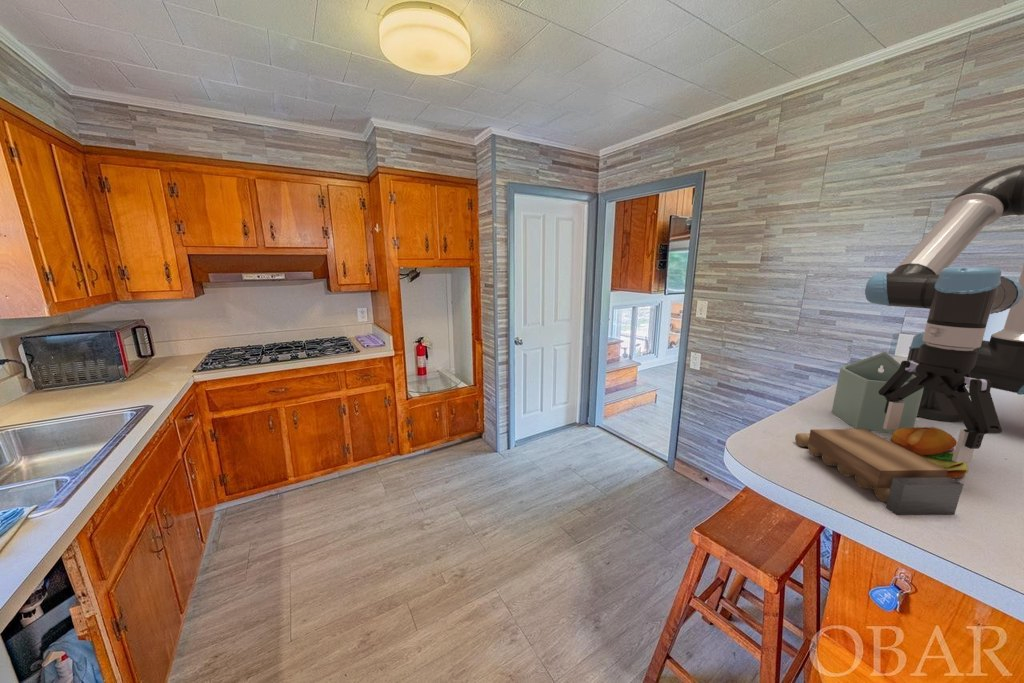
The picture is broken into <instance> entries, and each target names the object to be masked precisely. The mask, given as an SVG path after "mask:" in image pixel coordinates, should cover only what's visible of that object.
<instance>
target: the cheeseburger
mask: <svg viewBox="0 0 1024 683" xmlns="http://www.w3.org/2000/svg"><path fill="white" fill-rule="evenodd" d="M890 442H892V443H894V444H896V445H898V446H900V447H902V448H904V449H907V450H909V451H911V452H913V453H915V454H917V455H919V456H921V457H923V458H925V459H927V460H929V461H931V462H933V463H935V464H937V465H939V466H941V467H943V468H945V469H947V470H948V472H947V475H946V477H950V478H952V479H954V478H961V477H963V476H965V475H966V474H968V473H969V468H968V466H967V462H955V461H953V460H952V457H953V454H954V451H955V447H956V444H957V441H956V438H955V437H954V436H953V435H951V434H950V433H949V432H947V431H946V430H943V429H941V428H938V427H933V426H931V427H930V426H929V427H928V426H927V427H926V426H923V427H921V426H920V427H917V426H916V427H914V428H901V429H898V430H896V431H894V433H892V435H891V436H890Z"/></svg>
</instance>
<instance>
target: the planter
mask: <svg viewBox="0 0 1024 683" xmlns="http://www.w3.org/2000/svg"><path fill="white" fill-rule="evenodd" d="M900 365H901V363H899V362H898V360H896V359H894V358H893V356H891V355H890V354H889V353H887V352H886V351H883V352H880V353H877V354H874V355H871V356H869V357H866V358H863V359H860V360H857V361H854V362H851V363H849V364H844V365H842V366H841V367H840V368H839V373H838V378H837V384H836V388H835V393H834V399H833V403H832V408H831V413H832V414H834V415H835V416H836V417H838V418H839V419H840V420H842V421H843V422H845V423H847V424H848V425H849V426H851V427H852V428H853V429H866V430H868V431H870V432H873V433H874V432H875V433H885V434H893V433H894V431H896V430H886V429H884V428H883V425H884V421H885V417H886V413H885V411H884V410H885V407H886V402H887V400H886V397H884V396H883V395H880V394H879V393H878V392H879V390H880V389H881V388H882V387H883V386H884V385H885V384H886V383H887V381H888V380H889V379H890V378H891V377H892V376H893V375H894V374H895V373H896V372H897V371H898V370H899V367H900ZM881 366H882V369H883V371H882V372H881V371H879V369H880V368H881ZM915 377H916V376H915V375H912V376H911V377H910V378H909V379H908V380H907V381H906V382H905V383H904V384H903V385H902V386H904V385H906V384H907V383H909V381H910V380H912V379H913V378H915ZM902 386H901V387H902ZM923 389H924V388H922V389H920V390H918V391H916V392H915V393H913V394H911V395H909V396H907V397H906V398H904V399H902V400H903V401H899V402H903V403H905V404H904V408H903V412H902V416H901V420H900V424H899V428H898V429H901V428H915V425H916V420H917V418H918V416H917V413H918V409H919V406H920V402H921V398H922V394H923Z"/></svg>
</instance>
